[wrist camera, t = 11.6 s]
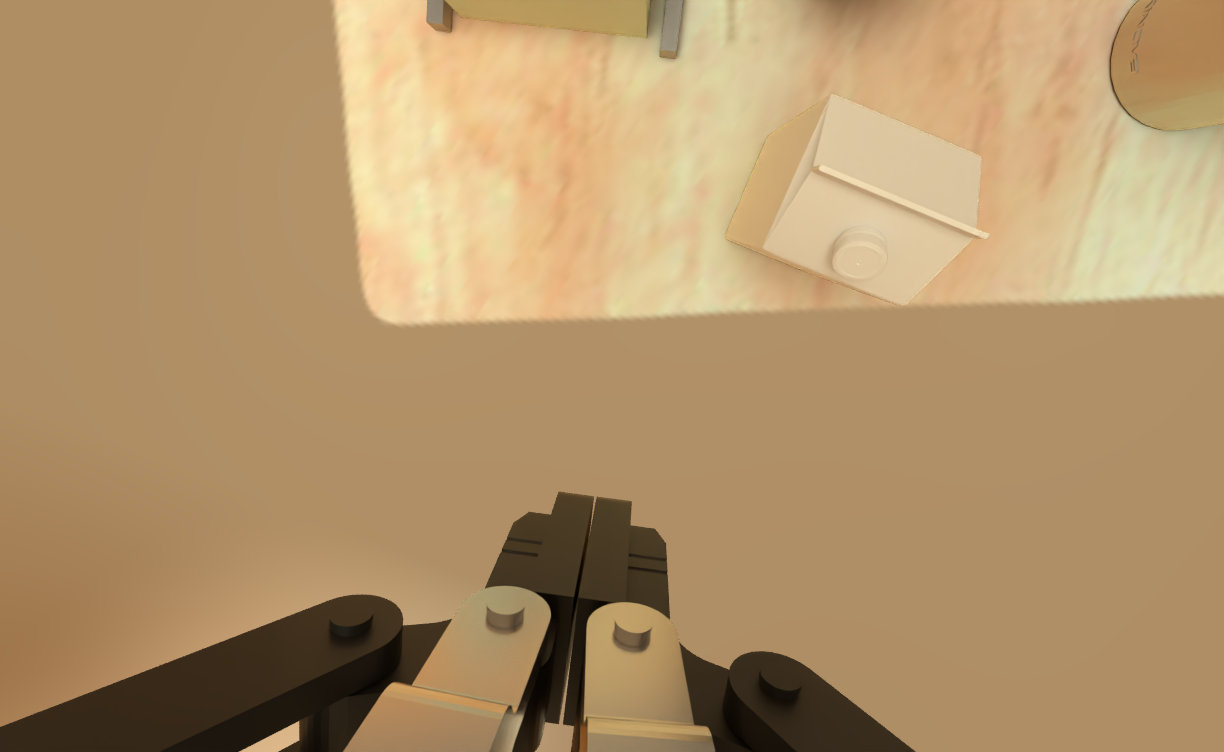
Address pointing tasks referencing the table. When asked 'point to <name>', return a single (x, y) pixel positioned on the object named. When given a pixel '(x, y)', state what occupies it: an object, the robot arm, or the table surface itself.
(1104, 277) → the table surface
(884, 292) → the milk carton
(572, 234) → the table surface
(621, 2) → the t block
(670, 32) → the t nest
